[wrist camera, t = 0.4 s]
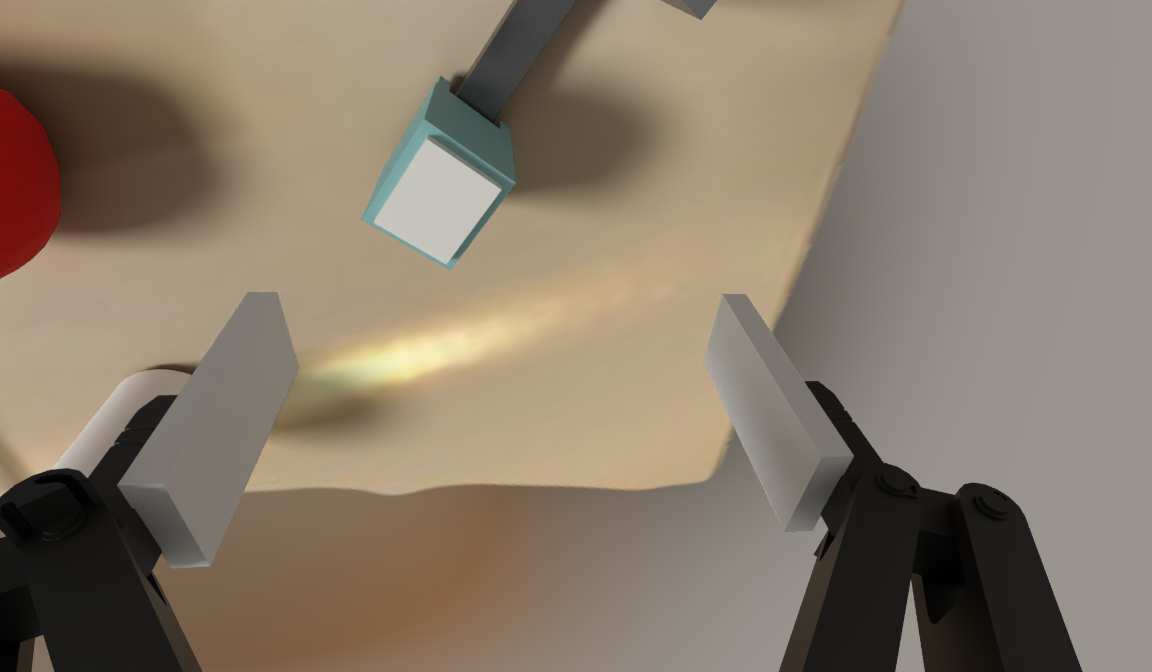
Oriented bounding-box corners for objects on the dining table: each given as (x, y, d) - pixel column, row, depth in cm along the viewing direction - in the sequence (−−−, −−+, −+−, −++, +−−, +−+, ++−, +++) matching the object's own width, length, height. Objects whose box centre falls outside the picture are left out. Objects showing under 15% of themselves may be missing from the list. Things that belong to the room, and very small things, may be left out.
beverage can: (123, 350, 41) (11, 482, 31) (243, 380, 44) (174, 509, 34) (117, 423, 45) (17, 559, 35) (228, 445, 48) (162, 577, 38)
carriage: (387, 157, 34) (358, 225, 26) (438, 74, 31) (422, 122, 24) (458, 202, 36) (449, 276, 29) (510, 128, 34) (516, 187, 26)
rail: (404, 172, 35) (400, 184, 34) (569, -87, 28) (573, -88, 27) (437, 193, 36) (435, 205, 35) (603, -51, 29) (610, -50, 28)
